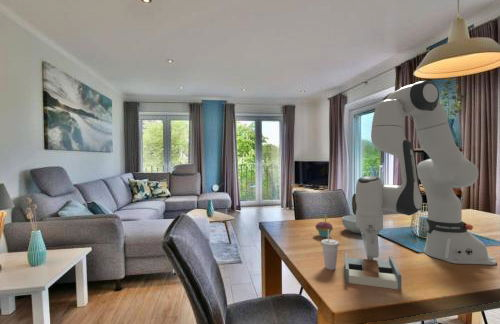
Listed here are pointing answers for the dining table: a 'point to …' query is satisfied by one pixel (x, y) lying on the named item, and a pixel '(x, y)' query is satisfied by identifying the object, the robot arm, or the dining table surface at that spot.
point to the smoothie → (330, 252)
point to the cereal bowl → (350, 223)
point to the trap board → (387, 277)
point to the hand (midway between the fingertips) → (370, 260)
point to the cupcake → (324, 228)
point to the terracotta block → (371, 268)
